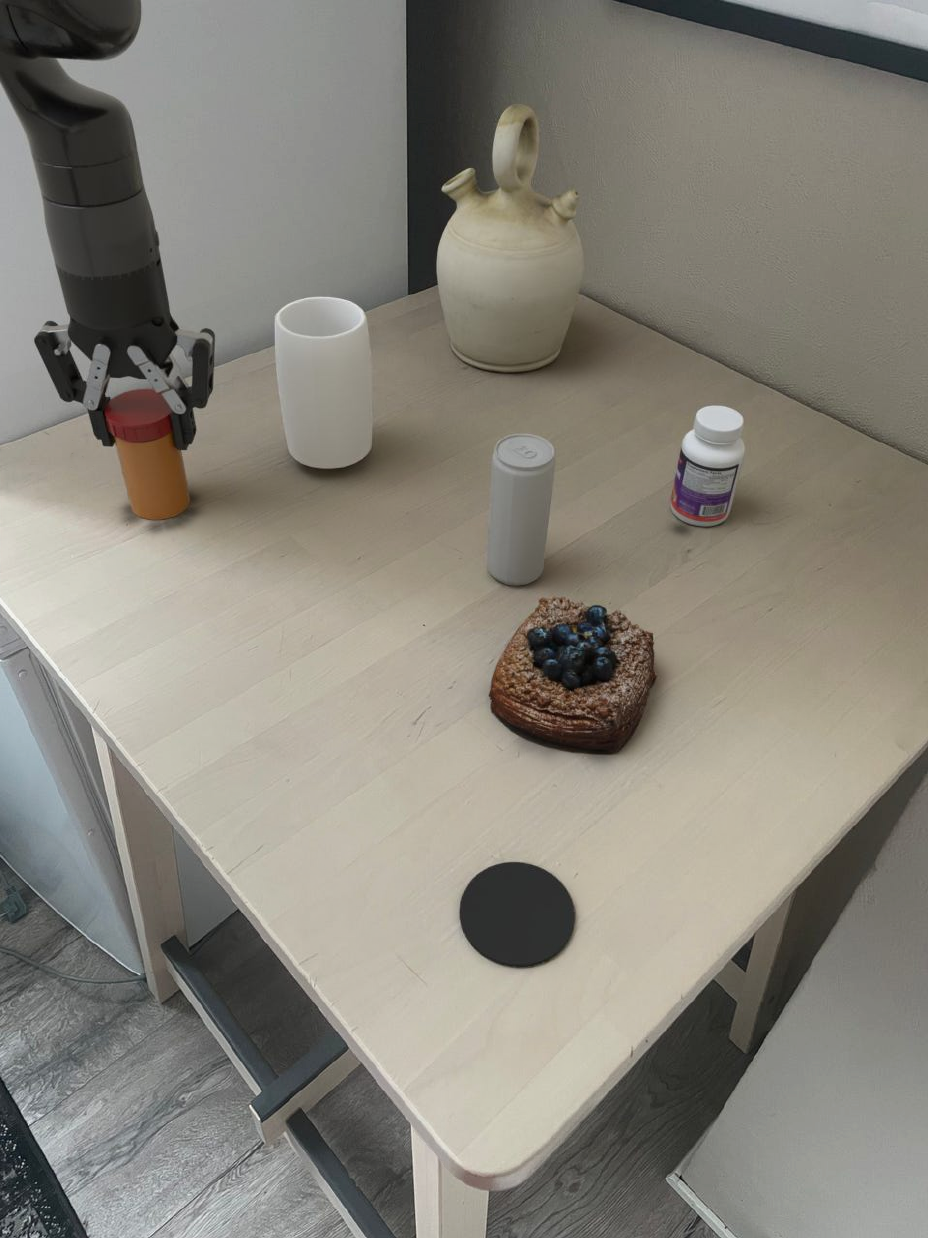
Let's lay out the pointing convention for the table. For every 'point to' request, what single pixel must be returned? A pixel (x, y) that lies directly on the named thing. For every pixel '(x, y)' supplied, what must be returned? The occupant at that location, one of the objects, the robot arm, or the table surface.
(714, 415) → the pill bottle
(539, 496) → the beverage can
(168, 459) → the jam jar
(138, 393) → the jar lid
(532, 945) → the coaster
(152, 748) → the table surface
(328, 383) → the cup
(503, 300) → the jug
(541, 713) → the pastry
